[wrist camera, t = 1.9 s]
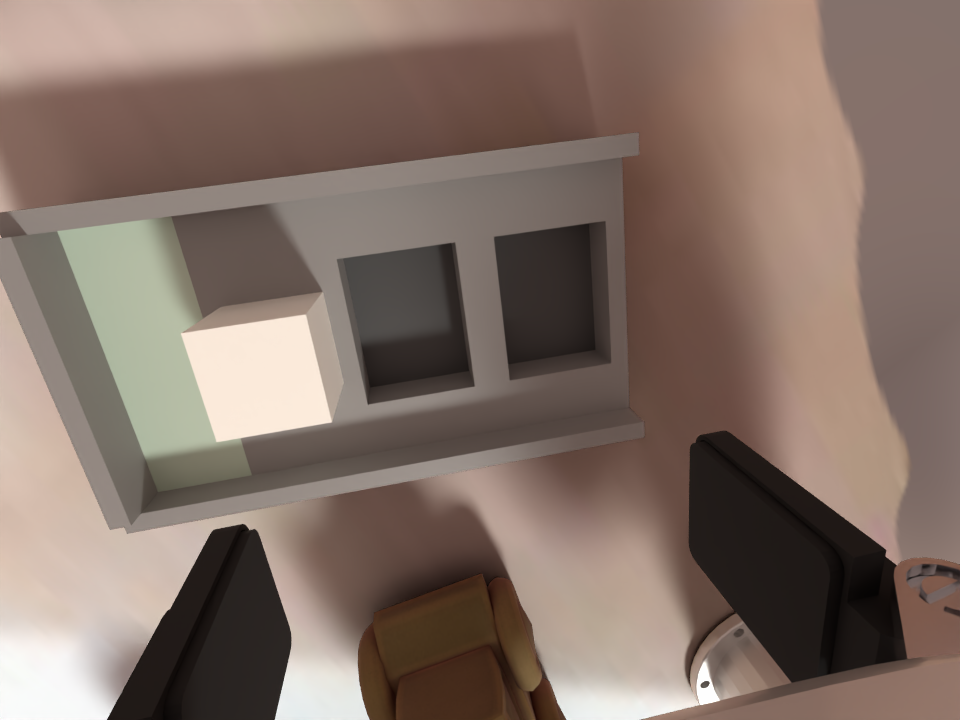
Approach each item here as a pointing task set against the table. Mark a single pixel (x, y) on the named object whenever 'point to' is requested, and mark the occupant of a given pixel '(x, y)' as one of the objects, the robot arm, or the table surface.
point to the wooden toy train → (455, 658)
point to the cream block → (266, 366)
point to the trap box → (337, 323)
